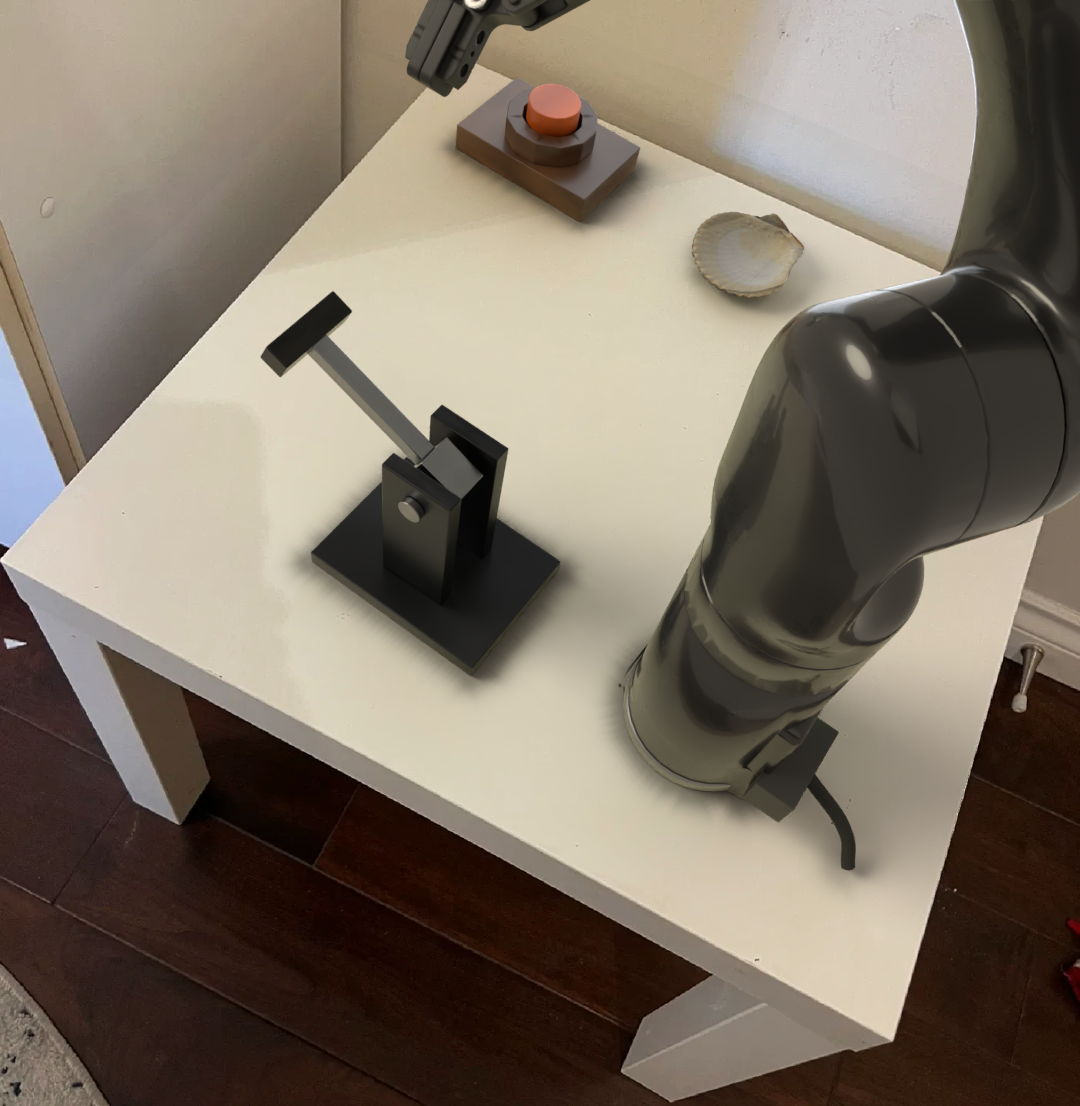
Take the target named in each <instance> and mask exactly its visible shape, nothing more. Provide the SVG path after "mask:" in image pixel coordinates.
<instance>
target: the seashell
mask: <svg viewBox="0 0 1080 1106" xmlns="http://www.w3.org/2000/svg"><path fill="white" fill-rule="evenodd" d="M691 250H692V252H691V255H692V257H693V258H694V259H693V262H694V264H695V265H696V266H697V270H698V272H699V273H701V276H702V278H703V279H705V280H707V281H708V284H709V285H711V286H715V288H716V289H717V290H718V291H721V292H725V294H727V295H734V296H736V297H738V298H741V297H744V298H746V299H750V298H760V297H763V296H769V295H770V294H775V293H776V292H777V291H778V290H779V289H780V288H782V287H783V286H784V285H785V283H786V281H787V280H788V278H789V275H790V274H791V270H792V268H793V266H794V265H795V264H796V263H797V262H798V260H799V258H800V257H801V256H802V255H803V254H804V251H805V246H804V245H803V243H802V242H801V241H800V240H799V239H798V237H797V236H795V235H794V234H793V232H791V231H790V230H789V228H788V226H787V224H786V223H785V222H784V221H783V219H781V217H780V216H779V215H778V214H777V213H770V214H765V215H763V216H759V215H753V214H749V213H742V212H738V211H728V212H727V211H726V212H724V211H723V212H720V213H716V214H714V215H712V216H710V217H709V218H707V219H705V220H704V221H703V222H702V223H700V226H698V228H697V230H696V232H695V233H694V237H693V239H692V244H691Z"/></svg>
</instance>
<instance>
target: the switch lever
mask: <svg viewBox="0 0 1080 1106" xmlns="http://www.w3.org/2000/svg"><path fill="white" fill-rule="evenodd" d="M352 313H353V310H352V308H350V306H348V304H347V303H346V302H345V301H344V300H343V299H342V297H340V296H339V295H338V294H337V293H336V292H335V290H332V291H330V292H329V293H328V294H327V295H325V296H324V297H323V298H322V299H321V300H320V301H319V302H317V303H316V304H315V305H314V306H313V307H312V308H310V309H309V310H308V311H307V312H306V313H304V314H303V315H302V316H301V317H300V318H298V319H297V320H296V321H295V322H294V323H292V324H291V325H290V326H289V327H288V328H286V330H284V331H283V332H282V333H280V334H279V335H278V336H277V337H275V339H273V340H272V341H271V342H269V344H267V345H266V346H265V348H264V350H263V351H262V353H261V355H260V359H261V360H262V361H263V362H264V363H265V364H266V365H267V366H268V367H269V368H270V369H271V370H272V371H273V372H274V373H275V374H276V375H277V376H278V377H279V378H282V377H283V376H284V375H286V374H287V373H288V372H289V371H290V370H291V369H293V368H294V367H295V366H296V365H297V364H299V363H300V362H301V361H302V360H303V359H304V358H305V357H307V356H309V357H310V358H311V359H312V360H313V361H314V362H315V363H316V364H317V365H318V366H319V368H321V370H322V371H324V373H326V375H327V376H328V377H329V378H330V379H331V380H332V381H333V382H334V383H335V384H336V385H337V386H338V387H339V388H340V389H341V390H342V391H343V392H344V393H345V395H346V396H348V397H349V398H350V399H351V400H352V401H353V402H354V404H355V405H357V407H359V409H360V410H361V411H363V413H364V414H365V415H366V416H367V417H369V419H370V420H371V421H372V422H373V423H374V424H375V425H376V427H378V428H379V429H380V430H381V431H382V432H383V433H384V434H385V435H386V436H387V437H388V439H390V440H391V441H392V442H393V443H394V444H395V445H396V447H398V448H399V450H400V451H402V452H403V453H404V455H405V456H406V457H408V458H409V459H410V460H411V461H412V462H413V463H414V464H416V465H415V466H414V467H416V468H417V469H419V470H420V471H422V472H423V473H424V474H426V475H427V476H429V477H430V478H432V479H433V480H435V481H436V482H438V483H439V484H441V485H442V486H444V487H445V488H447V489H448V490H449V491H451V492H452V493H454V494H455V495H457V496H458V497H460V498H461V499H462V498H463V497H464V496H465V495H466V494H467V493H468V492H469V491H470V490H471V489H472V488H473V486H474V485H475V484H476V483H477V482H478V481H479V480H480V479H481V478H482V477H483V474H482V473H481V472H480V471H479V470H478V469H477V468H476V467H475V466H474V465H473V464H472V463H471V461H470V460H469V459H468V458H467V457H466V456H465V455H464V454H463V453H462V452H461V451H460V450H459V449H458V448H457V447H456V446H455V445H454V444H453V443H452V442H451V441H450V440H449V439H448V438H447V437H446V438H445V439H443V440H442V441H441V442H440V443H438V444H437V445H436V446H435V447H434V445H433V444H432V443H431V442H430V441H429V438H427V437H426V436H425V435H424V434H423V433H422V432H421V430H420V429H418V428H417V426H416V425H415V424H413V422H412V421H410V419H409V418H408V417H407V416H406V415H405V414H404V413H403V412H402V411H401V409H399V408H398V407H397V406H396V405H395V403H393V401H391V399H389V398H388V396H387V395H385V393H384V392H383V391H382V390H381V389H380V388H379V387H378V386H377V385H376V384H375V383H374V381H372V379H370V378H369V377H368V376H367V375H366V374H365V373H364V372H363V370H362V369H360V367H359V366H357V364H356V363H355V362H354V361H353V360H352V359H351V358H350V357H349V356H348V355H347V354H346V353H345V352H344V351H343V350H342V349H341V348H340V347H339V346H338V345H337V344H336V343H335V342H334V341H333V339H332V338H331V337H330V336H331V335H332V334H333V333H334V332H335V331H337V329H339V328H340V327H341V326H342V325H344V324H345V323H346V321H347V320H348V319H349V317H350V316H351V314H352Z"/></svg>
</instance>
